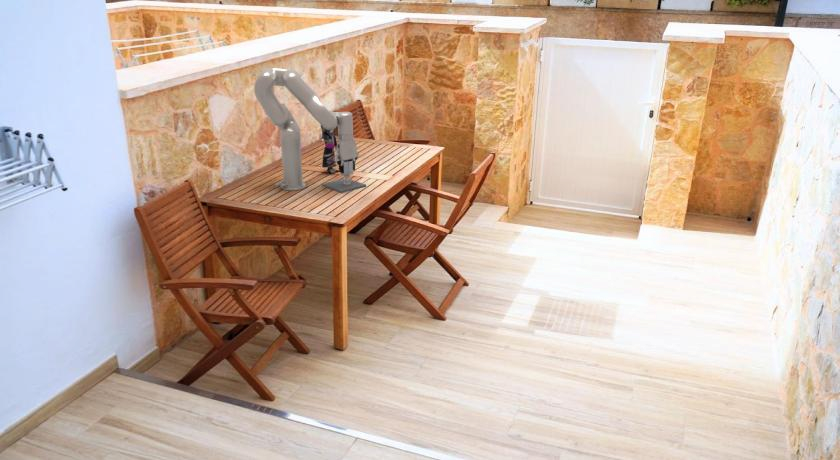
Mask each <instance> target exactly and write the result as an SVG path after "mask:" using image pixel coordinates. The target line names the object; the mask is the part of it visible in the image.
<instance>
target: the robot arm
mask: <svg viewBox="0 0 840 460" xmlns="http://www.w3.org/2000/svg"><path fill="white" fill-rule="evenodd" d="M275 86H277V87H285V88H286V89H287V90H288V91H289V92H290V93H291V94H292V95H293V96H294V97H295V98H296V99H297V100H298V102H299V103H300V104H301V105H302V106H303V107H304V108H305V110H307V111H308V112H309V114H310V115H311V116H312V117H313V118H314V119H315V121H317V123H318V124H321V125H322V126H323V127H324V128H325V129H327V130H333V131H334V130H335V129H336V128H337V136H336V141H337V150H336V154H335V157H334V159H333V160H334V161H335V162H336V165H338V171H339V172H338V173H340V174H341V173H344V166H343V162H344V161H345V160H350V159H353V169H354V171H356V163H357V160H358V159H359V156H360V152H358V150H357V148H358V147H357V143H356V139H355V138H354V121H353V119H354V118H353V113H352V112H351V111H340V112H339V111H331V110H328V109H327V108H326V106H325V105H324V104H323V103H322V101H321V100H320V98H319V95H318V94H317V93H316V92H315V91H314V89H313V88H311V87H310V85H308V84H307V82H305V80H304V79H303V78H302V76H301V74H300V73H299V72H298V71H297V70H295V69H287V68H286V69H285V68H275V67H274V68H273V67H266V68H263V69H262V70H260V73H259V74H258V76H257V77H256V80H255V82H254V87H253V89H254V90H253V91H254V95H255V98H256V100H257V102H258V103H259V105H260V106H261V108H262V110H263V111H264V112H265V114H266V116H267V117H268V119H269V121H270V122H271V124H272V125H274V126H276V127H277V128H278V130H279V131H280V135H279V137H280V146H281V149H280V150H281V161H282V163H281V164H282V175H283V176H282V178H281V180H280V181H279V182H275V184H274V185H275V187H280V188H281V189H282V190H285V191H301V190H303V189H305V188H306V187H307V184H306V183H305V182H304V181H303V166H302V165H303V164H302V161H303V160H302V146H301V127H300V126H299V124H298V122H297V121H296V119H295V118H294V116H293V114H292V113H291V111H290V110H289V108H288V107H287V106H286V105H285V104H282V103H281V102H280V100H279V99H278V98H277V95H276V94H275V92H274V91H273V88H274V87H275ZM321 125H320V126H321Z"/></svg>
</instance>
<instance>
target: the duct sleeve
mask: <svg viewBox="0 0 840 460" xmlns="http://www.w3.org/2000/svg"><path fill="white" fill-rule="evenodd" d="M343 166H344V173H340V175H342V176H344V175H349V176H352V175H354V172H355V170H354V169H353V159H350V160H345V161H344V162H343Z"/></svg>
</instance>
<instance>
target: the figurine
mask: <svg viewBox="0 0 840 460" xmlns="http://www.w3.org/2000/svg"><path fill="white" fill-rule="evenodd" d="M319 124H320V123H319ZM320 130H321V135H322V137H320V141H321V142H324V145H325V146H324V149H323V154H322V162H321V163H322V164H321V166H322V168H326V172H327V173H328V174H333V175H334V174H335V173H336V172H337V169H336V168H334V167H336V166H337V163H336V162H335V161H334V160H333V159H334V157H335V156H336V154H335V151H337V141H338V140H337V136H335V132H334V129H333V130H327V129H325V128H324V127H323V126H322V125H321V124H320Z"/></svg>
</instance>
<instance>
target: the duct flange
mask: <svg viewBox="0 0 840 460" xmlns="http://www.w3.org/2000/svg"><path fill="white" fill-rule="evenodd" d="M343 176H344V178H341V179H336V180H333V181H329V182H324V183H322V184H321V186H322V187H324V188H326V189H329V190H332V191H334V192H338V193H339V194H343V193H346V192H350V191H354V190H358V189H362V188H366V187H367V184H365V183H362V182H360V181H356V180H354V179H351V178H350V175H343Z"/></svg>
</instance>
